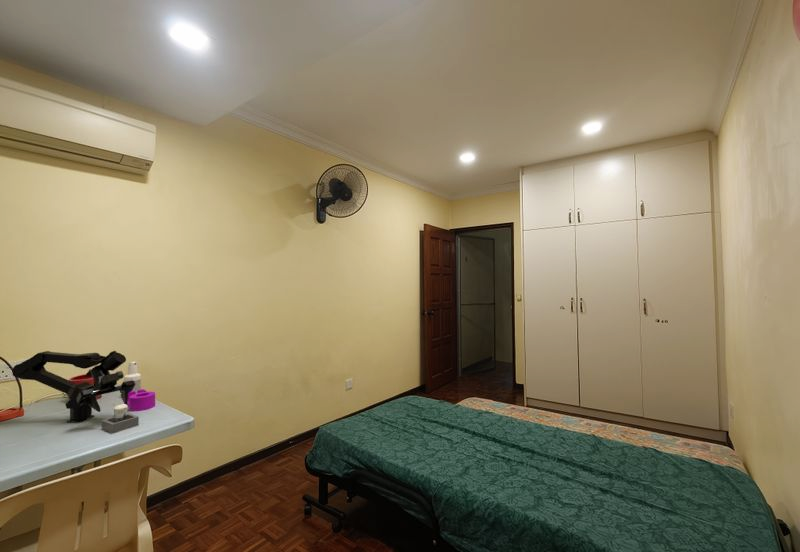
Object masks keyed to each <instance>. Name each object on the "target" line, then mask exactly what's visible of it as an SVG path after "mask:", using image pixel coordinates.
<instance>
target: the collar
mask: <svg viewBox="0 0 800 552" xmlns="http://www.w3.org/2000/svg"><path fill="white" fill-rule="evenodd" d="M138 426H139V416H138V415H135V414H132V413H128V412H127V417H126V420H123V421H120V422H117V423H115V418H114V416H112V417H109V418H105V419H101V430H103V431H106V432H108V433H110V434H112V435H113V434H115V433H119V432H121V431H125V430H128V429H132V428H134V427H138Z"/></svg>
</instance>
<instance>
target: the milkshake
mask: <svg viewBox="0 0 800 552" xmlns="http://www.w3.org/2000/svg"><path fill="white" fill-rule="evenodd" d="M112 406H113V414H114V416H113V417H114V418H115V423H117V422H120V421H123V420H126V417H127V413H128V409H129V408H128V406H127V405H126V404H124V403H122V404H118V405H115V403H114V402H112Z"/></svg>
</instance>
